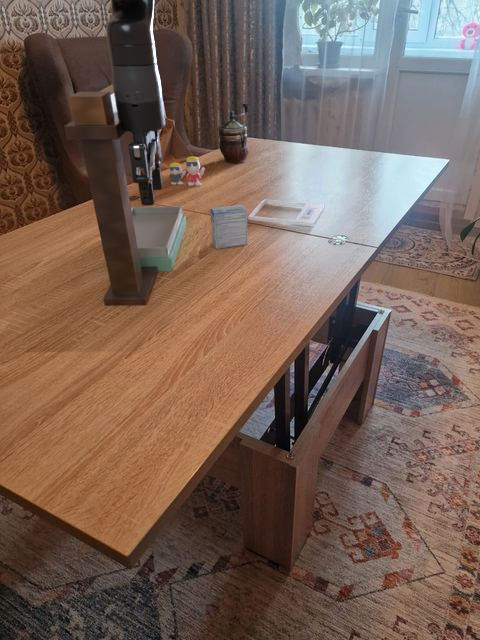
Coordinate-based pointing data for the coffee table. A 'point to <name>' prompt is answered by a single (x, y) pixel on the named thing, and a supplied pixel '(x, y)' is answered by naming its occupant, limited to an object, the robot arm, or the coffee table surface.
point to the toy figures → (191, 167)
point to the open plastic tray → (158, 235)
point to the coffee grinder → (234, 139)
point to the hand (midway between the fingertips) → (152, 196)
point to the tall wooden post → (113, 212)
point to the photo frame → (304, 218)
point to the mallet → (93, 107)
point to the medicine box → (229, 226)
